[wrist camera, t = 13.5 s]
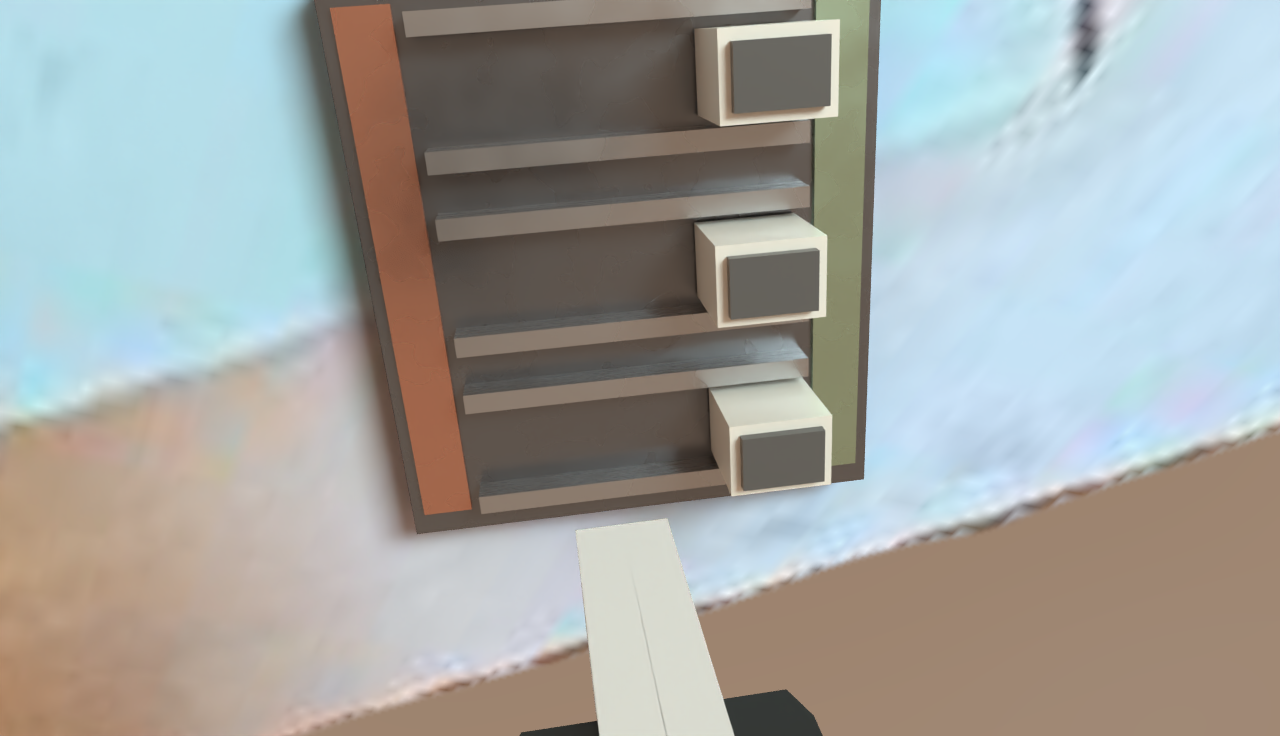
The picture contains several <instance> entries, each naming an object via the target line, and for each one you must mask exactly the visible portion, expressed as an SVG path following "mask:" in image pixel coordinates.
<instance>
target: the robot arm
mask: <svg viewBox="0 0 1280 736" xmlns="http://www.w3.org/2000/svg"><path fill="white" fill-rule="evenodd" d="M575 531H576V540H577V549H578V558H579V567H580V576H581V585H582V594H583V603H584V612H585V621H586V630H587V639H588V648H589V657H590V666H591V674H592V683H593V691H594V700H595V709H596V717H597V721H594V722H587V723H580V724H574V725H567V726H561V727H554V728H548V729H542V730H535V731H529V732H522V733H521V734H520V736H822V733H821V731H820V729H819V727H818V724H817V722H816V720H815V717H814V716H813V715H812V714H811V713H810V712H809V711H808V710H807V709H806V708H805V707H804V706H803V705H802V704H801V703H800V702H799V701H798V700H797V699H796V698H795V697H794V696H793V695H792V694H791V693H789V692H788V691H787V690H780V691H773V692H767V693H760V694H754V695H748V696H740V697H734V698H727V699H723V697H722V694H721V691H720V687H719V684H718V681H717V678H716V675H715V671H714V668H713V665H712V661H711V658H710V656H709V652H708V649H707V645H706V642H705V639H704V636H703V632H702V630H701V626H700V623H699V619H698V616H697V613H696V610H695V606H694V603H693V600H692V597H691V594H690V590H689V587H688V584H687V581H686V577H685V574H684V571H683V568H682V564H681V561H680V558H679V555H678V551H677V548H676V545H675V542H674V538H673V535H672V532H671V529H670V526H669V522H668V519H667V518H666V519H658V520H650V521H643V522H635V523H627V524H620V525H612V526H604V527H597V528H589V529H582V530H575Z"/></svg>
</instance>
